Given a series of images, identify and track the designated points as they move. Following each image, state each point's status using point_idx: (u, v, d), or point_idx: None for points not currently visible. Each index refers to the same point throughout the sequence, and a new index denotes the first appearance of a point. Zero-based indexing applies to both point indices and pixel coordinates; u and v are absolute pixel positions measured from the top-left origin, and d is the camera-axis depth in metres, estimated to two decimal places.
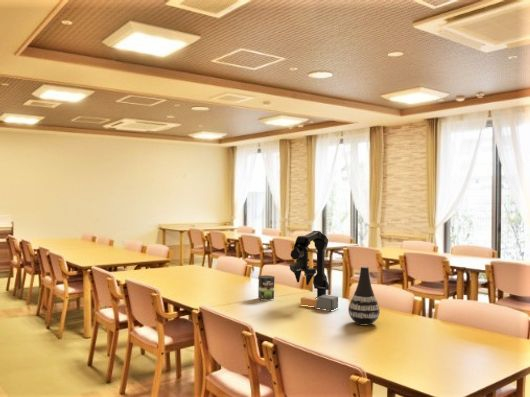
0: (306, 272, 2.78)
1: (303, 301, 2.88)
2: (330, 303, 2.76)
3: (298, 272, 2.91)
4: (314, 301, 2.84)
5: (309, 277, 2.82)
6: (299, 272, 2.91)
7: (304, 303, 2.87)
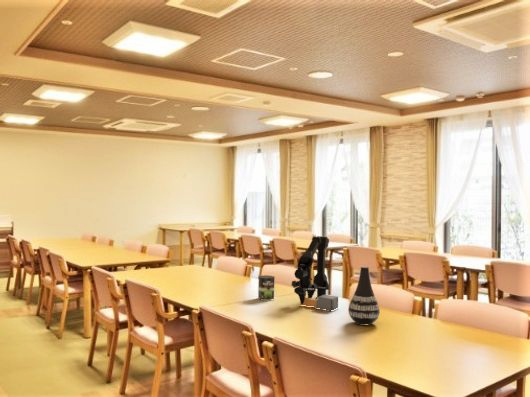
0: None
1: None
2: (330, 303, 2.76)
3: (310, 291, 2.93)
4: (314, 301, 2.84)
5: (302, 296, 2.84)
6: (311, 291, 2.92)
7: (304, 303, 2.87)
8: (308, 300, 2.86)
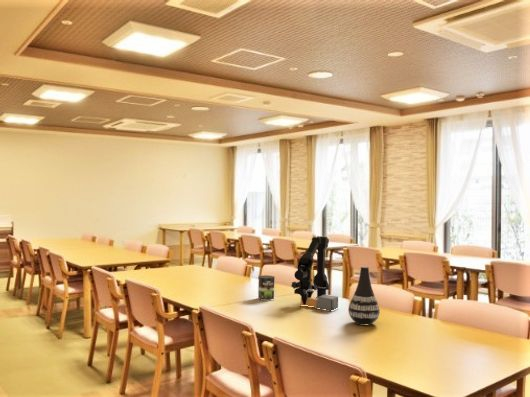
0: None
1: None
2: (330, 303, 2.76)
3: (308, 293, 2.90)
4: (314, 301, 2.84)
5: (304, 297, 2.86)
6: (309, 293, 2.90)
7: None
8: (308, 299, 2.86)
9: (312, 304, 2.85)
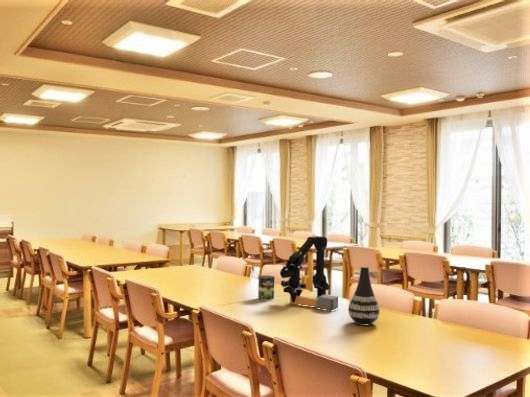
0: None
1: None
2: (330, 303, 2.76)
3: (297, 291, 2.94)
4: (303, 299, 2.88)
5: (293, 295, 2.90)
6: (298, 292, 2.94)
7: None
8: (297, 298, 2.90)
9: (301, 302, 2.89)
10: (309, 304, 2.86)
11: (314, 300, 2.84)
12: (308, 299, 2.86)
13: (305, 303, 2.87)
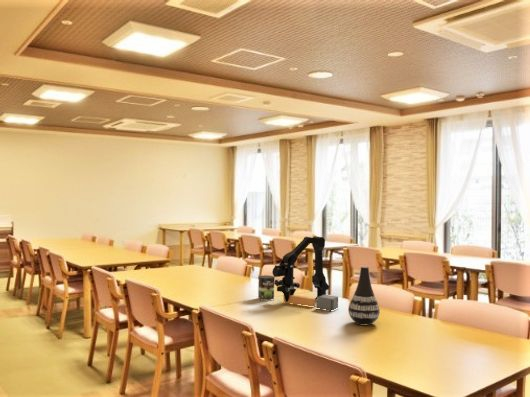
0: None
1: None
2: (330, 303, 2.76)
3: (291, 291, 2.97)
4: (296, 298, 2.90)
5: (286, 294, 2.92)
6: (292, 291, 2.96)
7: None
8: (291, 297, 2.92)
9: (294, 301, 2.91)
10: (302, 303, 2.88)
11: (307, 299, 2.86)
12: (301, 298, 2.88)
13: (298, 302, 2.89)
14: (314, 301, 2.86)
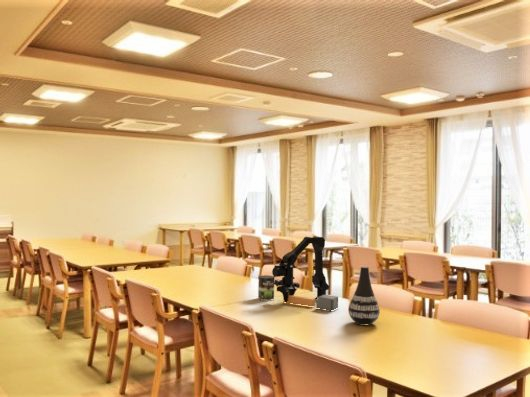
0: None
1: None
2: (330, 303, 2.76)
3: (291, 290, 2.98)
4: (296, 298, 2.90)
5: (285, 294, 2.91)
6: (292, 291, 2.97)
7: (287, 300, 2.94)
8: (290, 297, 2.92)
9: (294, 302, 2.91)
10: (302, 304, 2.88)
11: (307, 300, 2.86)
12: (301, 299, 2.89)
13: (298, 303, 2.90)
14: (314, 301, 2.86)
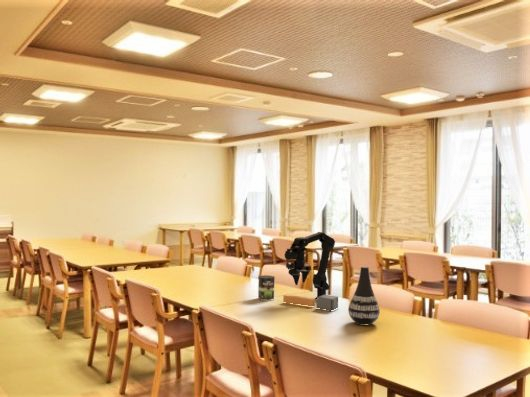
0: None
1: (286, 298, 2.94)
2: (330, 303, 2.76)
3: (304, 273, 3.01)
4: (296, 298, 2.90)
5: (296, 277, 2.92)
6: (305, 273, 3.01)
7: (287, 300, 2.94)
8: (290, 297, 2.92)
9: (294, 302, 2.91)
10: (302, 304, 2.88)
11: (307, 300, 2.86)
12: (301, 299, 2.89)
13: (298, 303, 2.90)
14: (314, 301, 2.86)
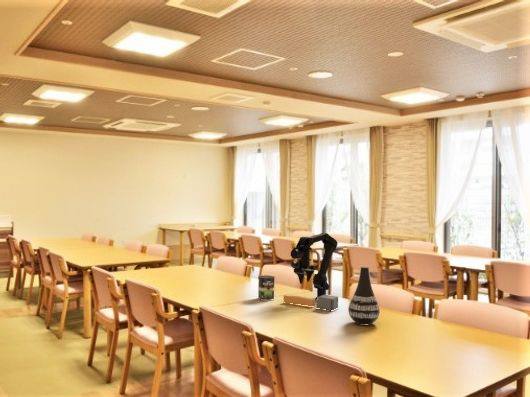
0: None
1: (286, 298, 2.94)
2: (330, 303, 2.76)
3: (309, 272, 3.02)
4: (296, 298, 2.90)
5: (301, 276, 2.93)
6: (310, 272, 3.02)
7: (287, 300, 2.94)
8: (291, 297, 2.92)
9: (294, 302, 2.91)
10: (302, 304, 2.88)
11: (307, 300, 2.86)
12: (301, 299, 2.89)
13: (298, 303, 2.90)
14: (314, 302, 2.86)
